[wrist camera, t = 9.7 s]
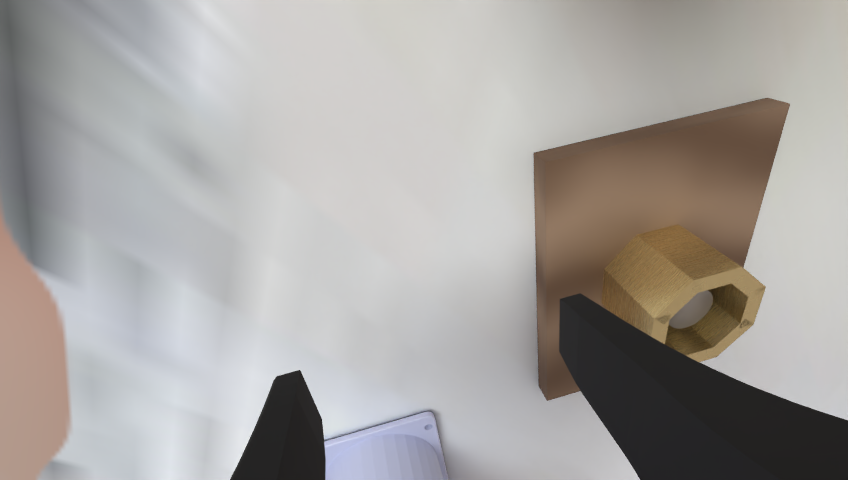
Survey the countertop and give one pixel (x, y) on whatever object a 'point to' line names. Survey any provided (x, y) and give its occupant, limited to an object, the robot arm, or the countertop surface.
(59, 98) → the countertop surface
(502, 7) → the countertop surface
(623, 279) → the brass collar
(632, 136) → the hub board
